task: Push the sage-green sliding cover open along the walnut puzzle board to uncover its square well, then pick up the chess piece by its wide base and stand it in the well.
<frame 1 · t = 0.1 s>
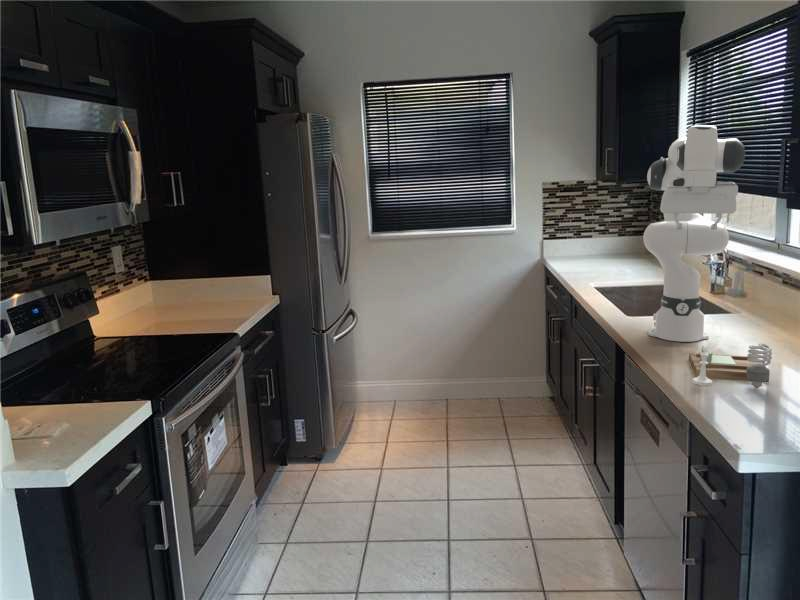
hand: (696, 229, 196), 39 cm above the worktop, tool pointing down, fingers open, 8 cm apart
cover: (718, 356, 189), point 4 cm above the worktop, slide at 0.0 cm
light bulb: (756, 388, 176), on the worktop
chess piece: (702, 383, 180), on the worktop
board: (726, 371, 189), on the worktop
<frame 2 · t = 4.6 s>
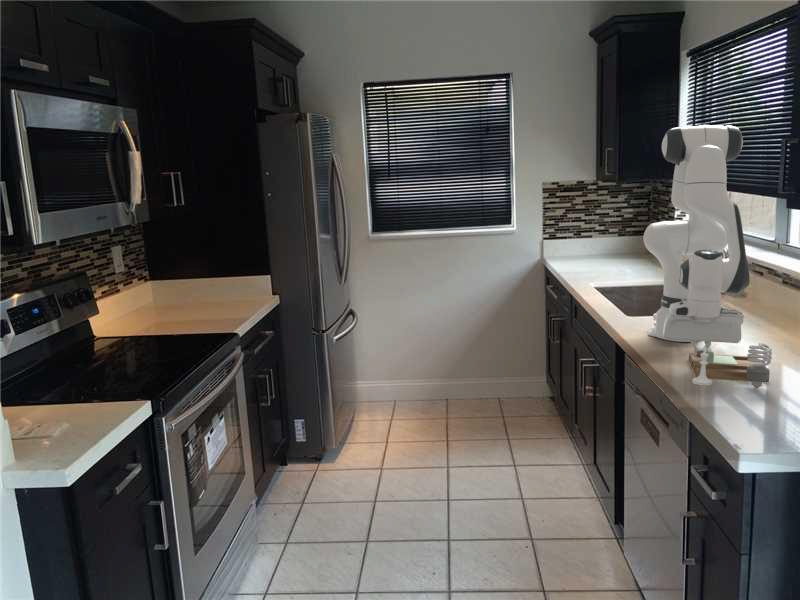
hand: (699, 355, 190), 4 cm above the worktop, tool pointing down, fingers closed
cover: (719, 356, 189), point 4 cm above the worktop, slide at 0.5 cm, touching gripper
everything else where it was.
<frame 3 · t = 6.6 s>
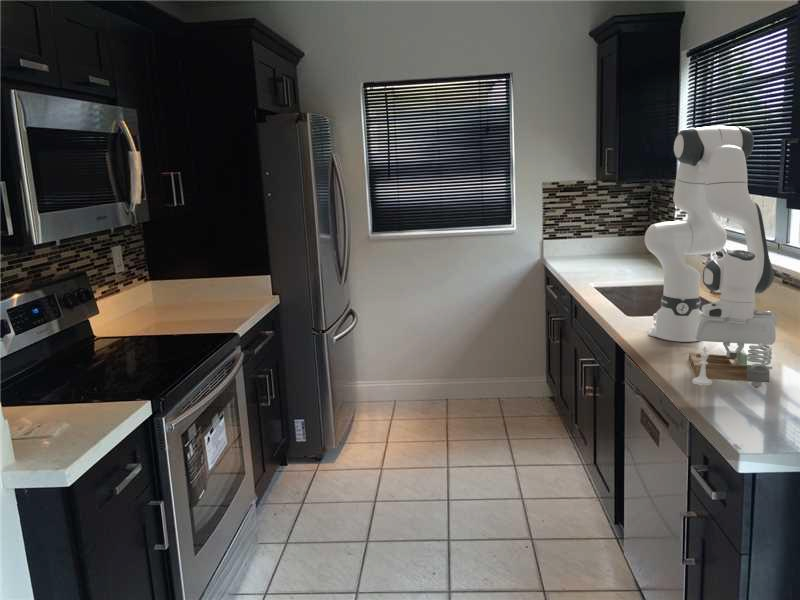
hand: (732, 357, 188), 4 cm above the worktop, tool pointing down, fingers closed
cover: (753, 358, 187), point 4 cm above the worktop, slide at 8.9 cm, touching gripper
everything else where it was.
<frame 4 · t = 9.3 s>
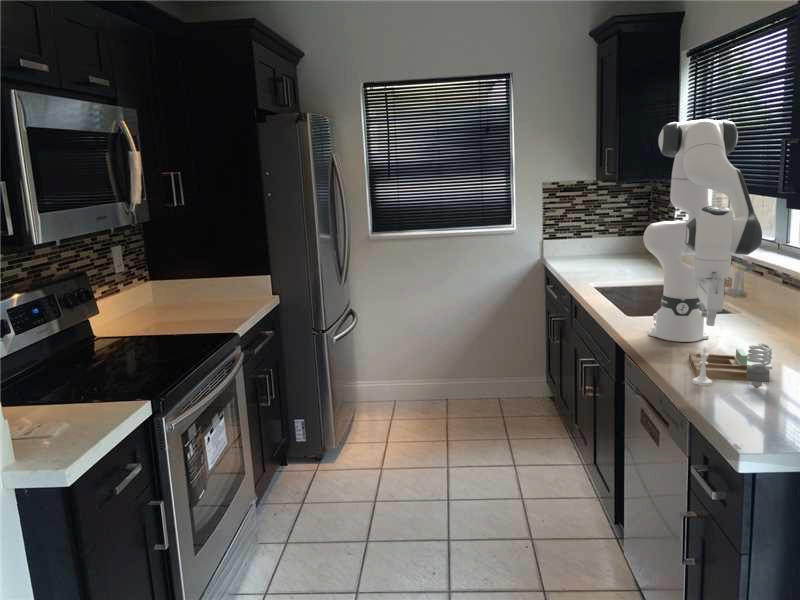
hand: (707, 321, 177), 17 cm above the worktop, tool pointing down, fingers open, 8 cm apart
cover: (753, 358, 187), point 4 cm above the worktop, slide at 9.0 cm
everything else where it was.
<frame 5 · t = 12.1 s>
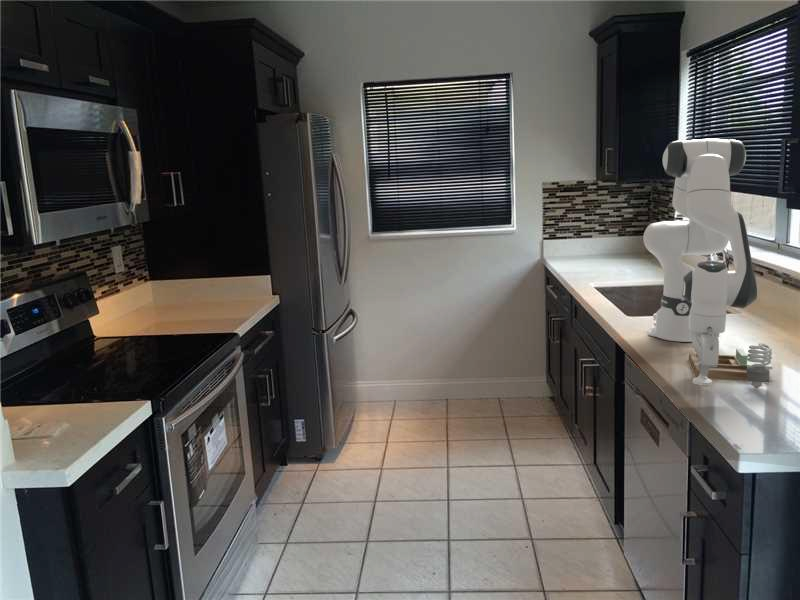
hand: (702, 373, 180), 3 cm above the worktop, tool pointing down, fingers closed on chess piece
chess piece: (702, 383, 180), on the worktop, touching gripper
everything else where it was.
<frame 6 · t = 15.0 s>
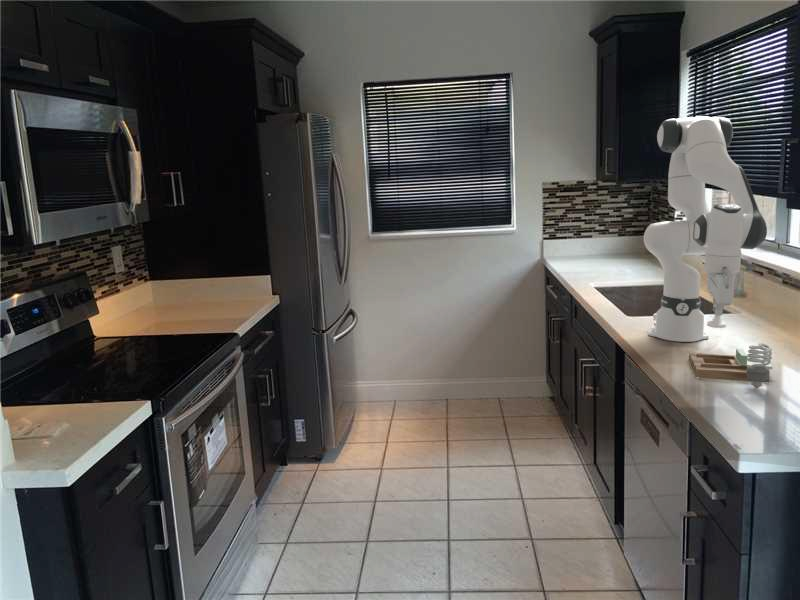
hand: (717, 313, 185), 17 cm above the worktop, tool pointing down, fingers closed on chess piece
chess piece: (716, 326, 186), point 13 cm above the worktop, touching gripper
everything else where it was.
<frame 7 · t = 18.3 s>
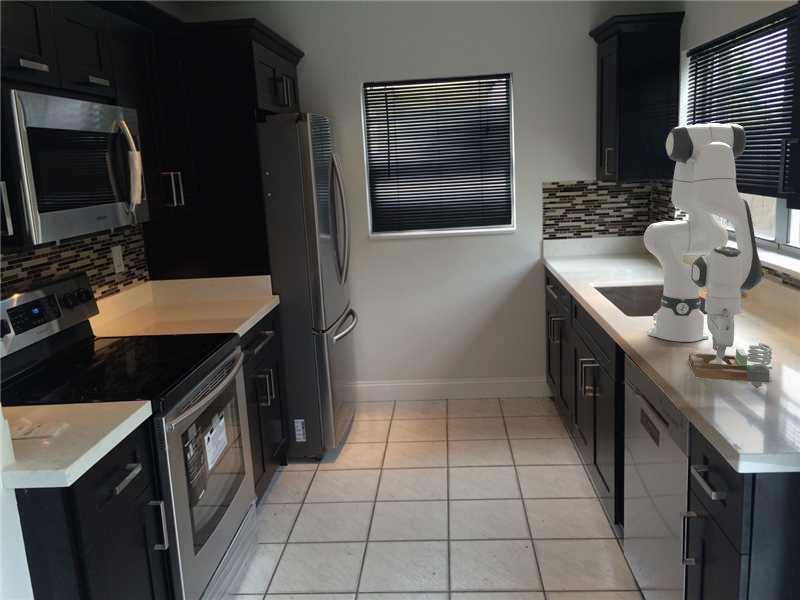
hand: (718, 353, 189), 5 cm above the worktop, tool pointing down, fingers open, 6 cm apart
chess piece: (717, 366, 189), point 2 cm above the worktop, touching board, gripper
everything else where it was.
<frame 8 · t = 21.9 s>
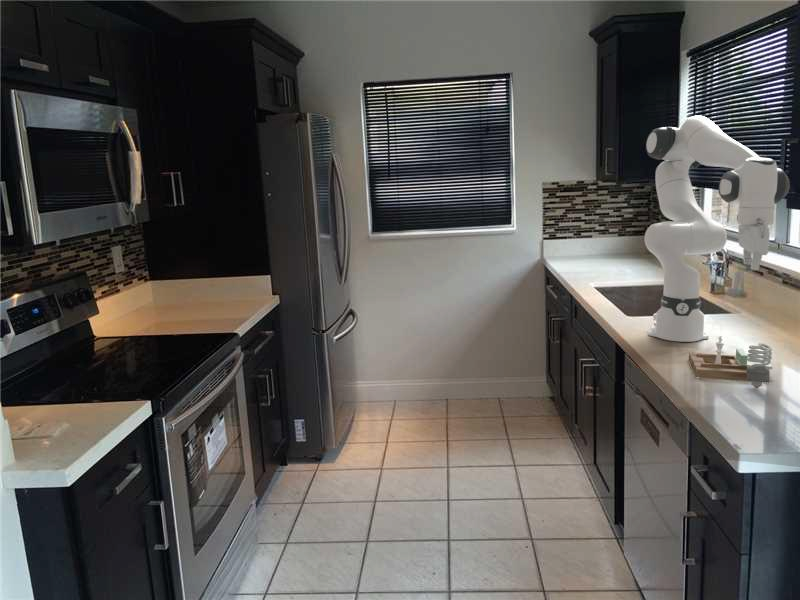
hand: (751, 267, 187), 29 cm above the worktop, tool pointing down, fingers open, 8 cm apart
chess piece: (717, 370, 189), resting on board
everything else where it was.
at the end: cover slide at 9.0 cm; chess piece 0.9 cm from the target spot on the board, point 0.2 cm above the board's base; chess piece tilted 1° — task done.
